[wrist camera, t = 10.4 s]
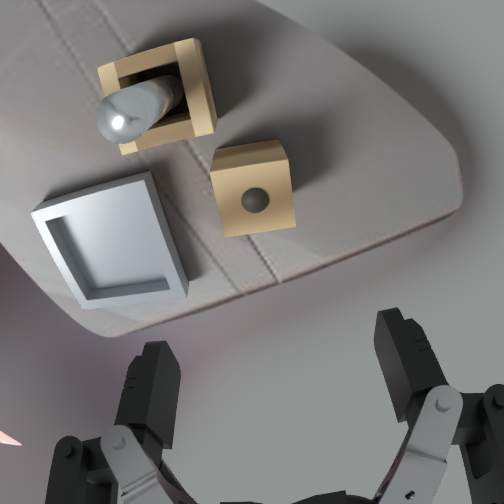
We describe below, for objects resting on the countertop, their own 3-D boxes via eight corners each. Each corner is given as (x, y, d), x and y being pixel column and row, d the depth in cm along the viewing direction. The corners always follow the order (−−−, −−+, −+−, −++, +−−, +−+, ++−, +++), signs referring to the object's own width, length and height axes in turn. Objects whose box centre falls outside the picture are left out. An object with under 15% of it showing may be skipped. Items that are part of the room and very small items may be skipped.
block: (215, 149, 24) (209, 172, 20) (279, 138, 24) (288, 159, 20) (227, 205, 27) (225, 238, 23) (286, 196, 27) (296, 227, 22)
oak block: (118, 64, 19) (97, 67, 16) (200, 40, 19) (193, 37, 16) (138, 139, 23) (122, 155, 20) (217, 120, 23) (213, 133, 19)
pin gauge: (146, 80, 20) (90, 100, 12) (179, 71, 20) (140, 83, 12) (154, 111, 22) (105, 150, 14) (187, 103, 22) (154, 135, 14)
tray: (40, 202, 25) (30, 212, 24) (150, 170, 25) (144, 180, 23) (89, 297, 32) (83, 309, 31) (189, 283, 31) (186, 297, 30)
